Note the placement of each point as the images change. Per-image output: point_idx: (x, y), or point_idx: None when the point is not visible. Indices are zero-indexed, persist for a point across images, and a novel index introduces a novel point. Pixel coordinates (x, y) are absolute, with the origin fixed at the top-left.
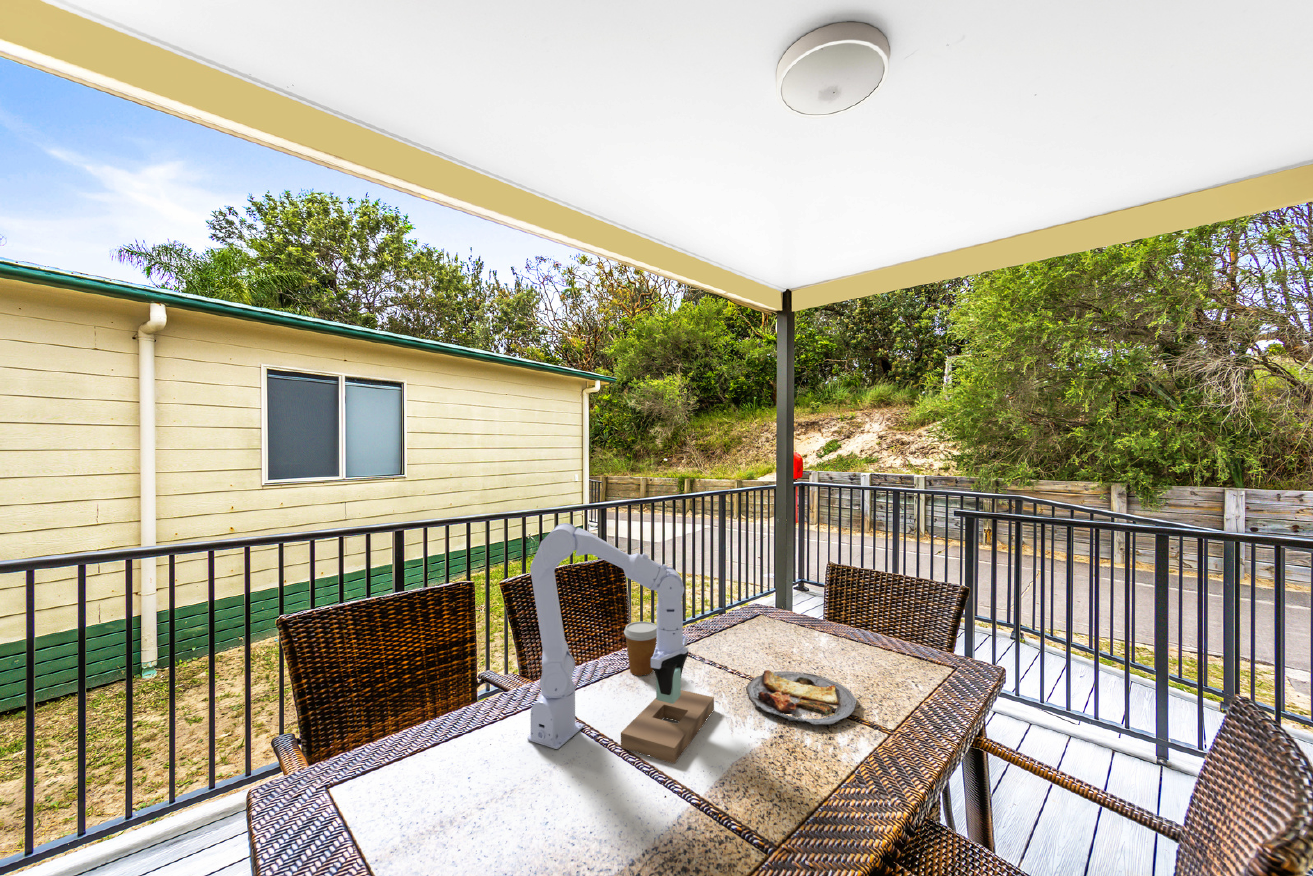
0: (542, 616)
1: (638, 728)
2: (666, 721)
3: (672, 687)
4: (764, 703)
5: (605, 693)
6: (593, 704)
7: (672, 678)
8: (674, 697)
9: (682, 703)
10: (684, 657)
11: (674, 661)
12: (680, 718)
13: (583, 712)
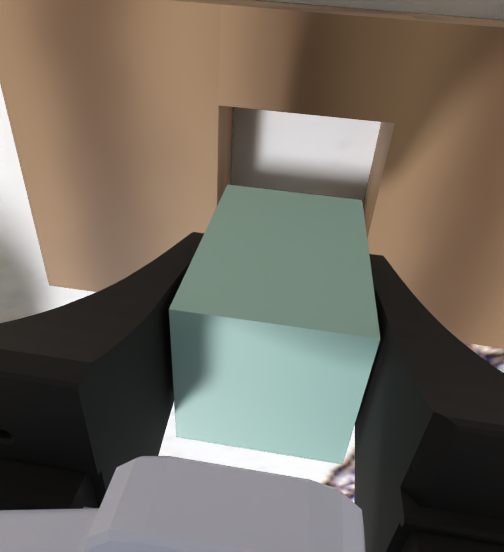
0: None
1: (482, 297)
2: (382, 191)
3: (367, 267)
4: None
5: (165, 439)
6: (246, 450)
7: (398, 321)
8: (337, 213)
9: (160, 165)
10: (104, 364)
11: (147, 404)
12: (228, 141)
13: (304, 459)
